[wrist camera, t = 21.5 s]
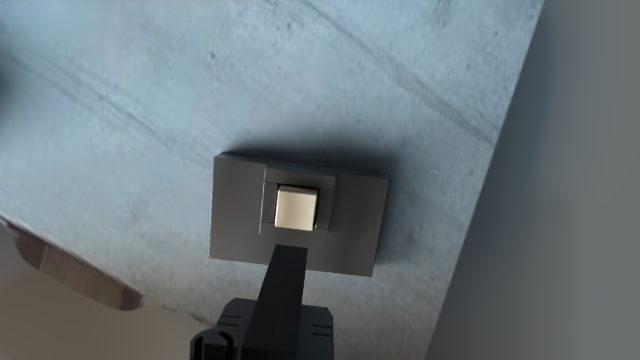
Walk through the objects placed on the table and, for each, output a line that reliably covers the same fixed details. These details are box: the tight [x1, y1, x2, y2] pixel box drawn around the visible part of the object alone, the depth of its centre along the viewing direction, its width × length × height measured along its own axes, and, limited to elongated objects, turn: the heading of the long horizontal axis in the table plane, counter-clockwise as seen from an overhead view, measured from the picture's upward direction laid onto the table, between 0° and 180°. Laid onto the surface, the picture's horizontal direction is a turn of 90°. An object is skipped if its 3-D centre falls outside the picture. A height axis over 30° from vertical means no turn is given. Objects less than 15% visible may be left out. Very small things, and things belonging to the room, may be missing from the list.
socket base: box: [209, 153, 389, 277], centre depth 33 cm, size 16×10×4 cm, turn 83°
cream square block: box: [275, 185, 317, 231], centre depth 30 cm, size 3×3×2 cm
